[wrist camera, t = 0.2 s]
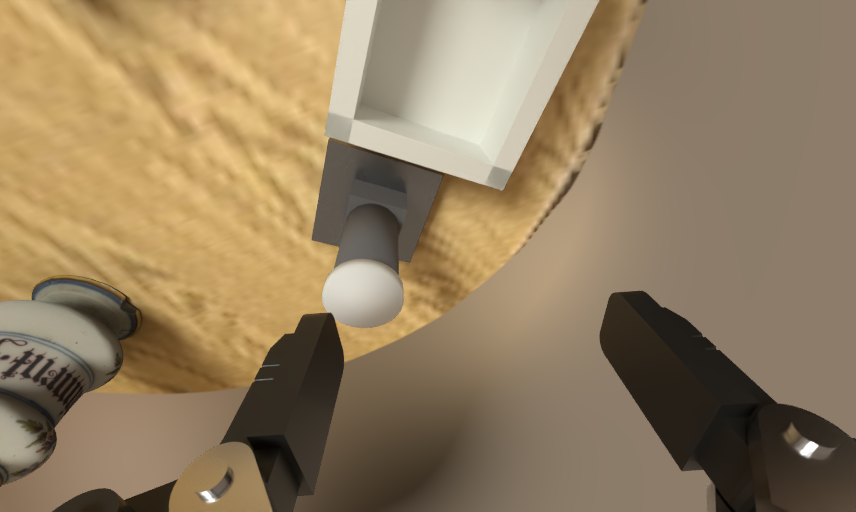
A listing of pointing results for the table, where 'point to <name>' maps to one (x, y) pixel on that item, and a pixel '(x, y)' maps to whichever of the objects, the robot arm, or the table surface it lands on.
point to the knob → (368, 258)
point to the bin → (451, 79)
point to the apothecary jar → (55, 362)
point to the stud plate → (379, 170)
